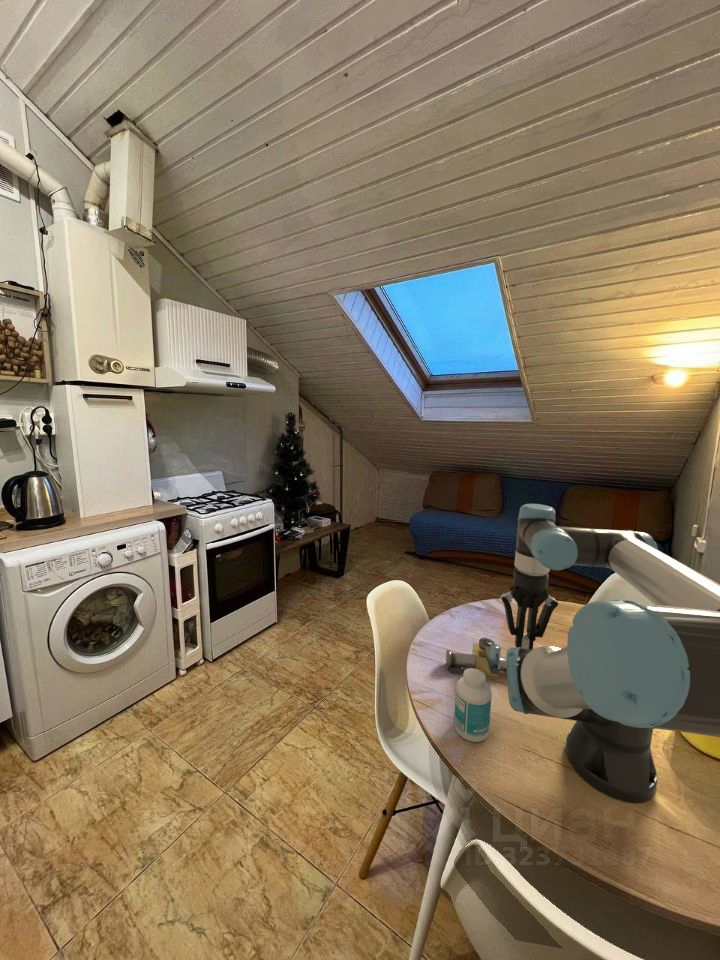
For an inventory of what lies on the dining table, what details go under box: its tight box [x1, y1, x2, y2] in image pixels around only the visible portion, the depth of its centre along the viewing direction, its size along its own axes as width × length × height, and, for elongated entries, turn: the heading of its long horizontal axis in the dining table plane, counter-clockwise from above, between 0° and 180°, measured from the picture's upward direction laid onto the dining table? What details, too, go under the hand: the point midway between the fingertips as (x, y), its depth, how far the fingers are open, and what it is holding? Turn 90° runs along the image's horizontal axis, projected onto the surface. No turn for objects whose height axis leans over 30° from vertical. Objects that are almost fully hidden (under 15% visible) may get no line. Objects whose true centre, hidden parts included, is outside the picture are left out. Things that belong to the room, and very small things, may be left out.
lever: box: [478, 637, 502, 676], centre depth 97 cm, size 13×4×6 cm, turn 173°
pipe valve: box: [445, 643, 507, 680], centre depth 102 cm, size 6×21×7 cm, turn 83°
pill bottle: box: [453, 668, 492, 743], centre depth 82 cm, size 8×7×14 cm
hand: (522, 660), depth 92 cm, fingers closed
